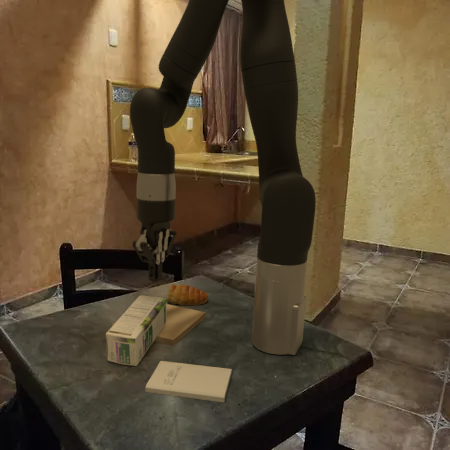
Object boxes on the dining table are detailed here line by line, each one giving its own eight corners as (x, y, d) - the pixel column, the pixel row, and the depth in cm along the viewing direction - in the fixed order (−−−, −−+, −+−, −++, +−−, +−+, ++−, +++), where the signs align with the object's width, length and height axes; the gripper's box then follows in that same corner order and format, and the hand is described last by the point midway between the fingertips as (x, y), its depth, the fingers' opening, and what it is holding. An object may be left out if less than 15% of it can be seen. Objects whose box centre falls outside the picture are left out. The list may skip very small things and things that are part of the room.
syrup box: (167, 322, 88) (138, 367, 74) (139, 318, 89) (106, 362, 75) (166, 297, 86) (136, 339, 72) (138, 293, 87) (103, 334, 73)
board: (205, 317, 95) (205, 312, 94) (173, 345, 82) (173, 339, 82) (150, 305, 100) (150, 300, 100) (111, 329, 87) (111, 324, 87)
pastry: (208, 297, 106) (209, 282, 106) (205, 308, 100) (206, 293, 99) (170, 294, 107) (171, 280, 106) (165, 306, 100) (165, 290, 100)
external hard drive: (224, 406, 66) (145, 395, 68) (231, 376, 74) (160, 367, 76) (224, 396, 66) (145, 385, 67) (232, 367, 73) (161, 358, 75)
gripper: (153, 202, 78) (153, 294, 81) (189, 193, 90) (187, 274, 93) (119, 198, 81) (120, 286, 84) (158, 190, 92) (157, 268, 96)
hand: (155, 280), depth 89 cm, fingers closed
